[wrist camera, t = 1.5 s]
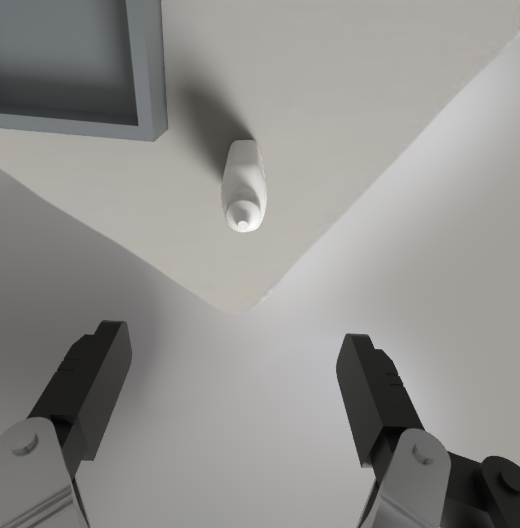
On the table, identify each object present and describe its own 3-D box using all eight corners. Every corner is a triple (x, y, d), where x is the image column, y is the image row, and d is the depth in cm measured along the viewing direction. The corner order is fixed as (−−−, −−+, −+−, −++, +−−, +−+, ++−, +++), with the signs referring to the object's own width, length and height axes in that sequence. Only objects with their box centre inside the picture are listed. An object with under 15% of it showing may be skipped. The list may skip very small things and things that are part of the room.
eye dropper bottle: (280, 154, 30) (295, 203, 20) (252, 204, 32) (252, 271, 22) (237, 130, 29) (230, 170, 19) (212, 184, 31) (193, 246, 21)
